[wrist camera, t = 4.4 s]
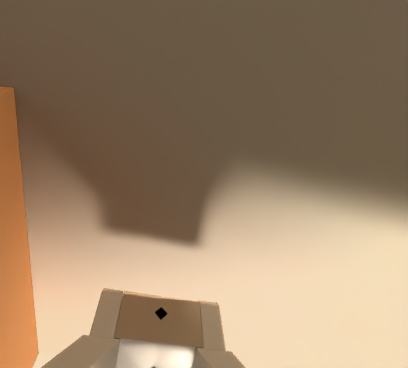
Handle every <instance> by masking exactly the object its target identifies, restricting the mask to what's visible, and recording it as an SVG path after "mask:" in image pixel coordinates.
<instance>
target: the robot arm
mask: <svg viewBox="0 0 408 368" xmlns="http://www.w3.org/2000/svg"><path fill="white" fill-rule="evenodd" d="M41 368H245V367H244V365H243V364H242V363H241V362H240V361H239V360H238V359H237V358H236V356H235V355H234V354H233V353H232V352H229V351H226V349H225V342H224V335H223V328H222V322H221V315H220V308H219V305H218V303H215V302H205V301H199V302H198V301H192V300H184V299H176V298H168V297H161V296H154V295H148V294H141V293H135V292H128V291H124V293H123V291H120V290H113V289H106V288H104V289H103V291H102V293H101V296H100V300H99V303H98V307H97V310H96V314H95V317H94V321H93V324H92V328H91V331H90V335H89V336H87V335H83V336H81V337H80V338H79V339H77V340H76V341H75V342H74V343H72V344H71V345H70V346H68V347H67V348H66V349H64V350H63V351H62V352H61V353H59V354H58V355H57V356H55V357H54V358H53V359H52V360H50V361H49V362H48V363H46V364H45V365H44V366H42V367H41Z"/></svg>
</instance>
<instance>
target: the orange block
mask: <svg viewBox="0 0 408 368" xmlns="http://www.w3.org/2000/svg"><path fill="white" fill-rule="evenodd" d="M38 353H39V352H38V342H37V331H36V320H35V309H34V299H33V288H32V277H31V266H30V256H29V245H28V234H27V223H26V213H25V202H24V191H23V180H22V170H21V159H20V148H19V137H18V127H17V116H16V105H15V94H14V88H11V87H0V368H32V367H33V365H34V363H35V360H36V358H37V356H38Z"/></svg>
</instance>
